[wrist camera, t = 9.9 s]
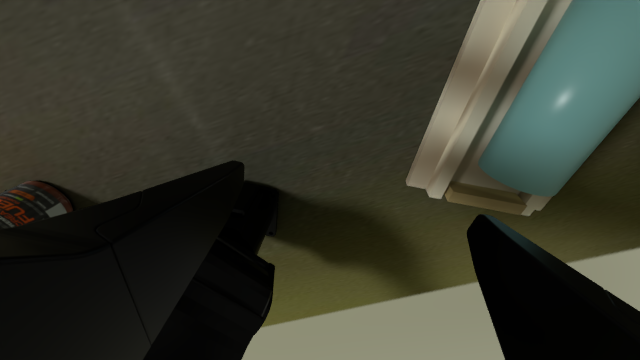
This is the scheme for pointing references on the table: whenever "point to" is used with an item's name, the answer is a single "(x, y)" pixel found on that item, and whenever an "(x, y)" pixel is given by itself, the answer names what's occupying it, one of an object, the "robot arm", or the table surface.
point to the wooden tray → (484, 104)
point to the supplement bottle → (31, 204)
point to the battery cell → (569, 97)
